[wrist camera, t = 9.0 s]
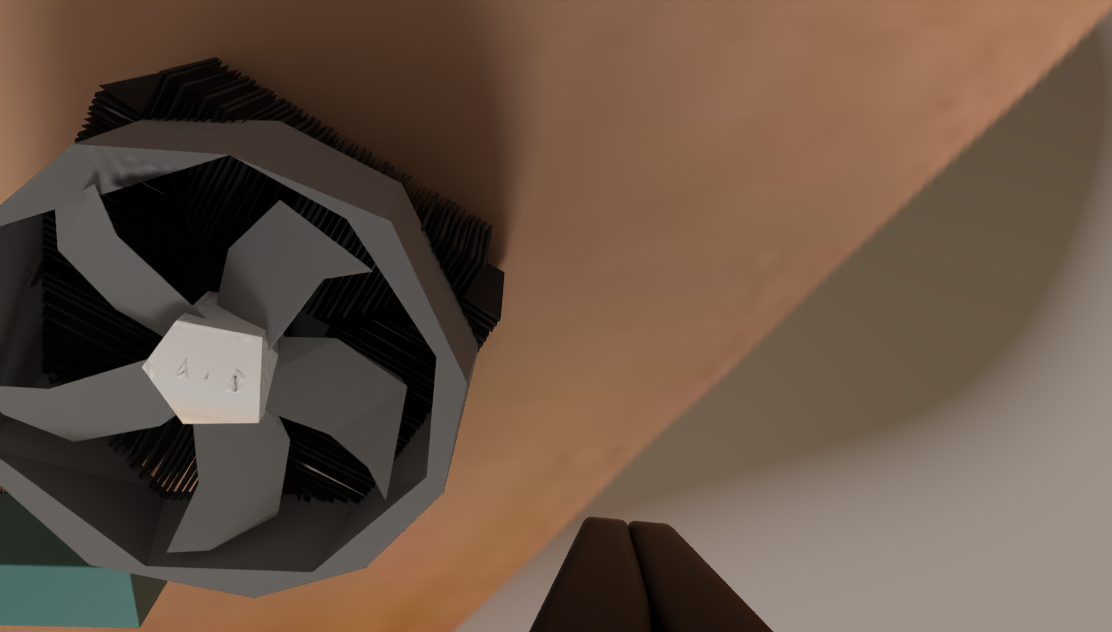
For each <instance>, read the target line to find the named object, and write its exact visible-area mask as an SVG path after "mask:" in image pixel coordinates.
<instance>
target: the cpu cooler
mask: <svg viewBox="0 0 1112 632" xmlns="http://www.w3.org/2000/svg"><path fill="white" fill-rule="evenodd" d="M218 61H219V59H218V58H217V57H215V58H211V59H207V60H203V61H199V62H195V63H191V64H187V65H183V66H179V67H175V68H171V69H167V70H163V71H160V72H159V73H156V74H151V75H147V76H142V77H137V78H132V79H128V80H123V81H118V82H114V83H109V84H104V85H99V86H100V87H101V88H103V89H104V91H100V92H96V93H95V95H94V96H95V97H97V98H95V99H92V102H91V103H93V104H95V105H92V106H89V109H88V110H90V111H92V112H89V113H87V114H89V115H90V116H92V117H90V118H87V119H84V120H86V121H88V122H89V124H85V125H82V126H83V127H84V128H86V129H87V130H84V131H81V132H78V134H77V136H78V138H76V139H75V141H74V142H76V143H74V144H72V145H71V146H70V147H69V148H68V149H66V150H65V151H64V152H63V153H62V154H60V155H59V156H58V157H57V158H56V159H54V160H53V161H52V162H51V163H50V164H49V165H47V166H46V167H45V168H44V169H43V170H41V171H40V172H39V173H38V174H37V175H35V176H34V177H33V178H32V179H31V180H29V181H28V182H27V183H26V184H25V185H24V186H22V187H21V188H20V189H19V190H18V191H16V192H15V193H14V194H13V195H12V196H10V197H9V198H8V199H7V200H6V201H4V202H3V203H2V204H1V205H0V486H1V487H2V488H4V489H5V490H6V491H7V492H8V493H9V494H10V495H11V496H13V497H14V498H15V499H16V500H17V501H18V502H19V503H21V504H22V505H23V506H24V507H25V508H26V509H27V510H28V511H30V512H31V513H32V514H33V515H34V516H35V517H36V518H37V519H39V520H40V521H41V522H42V523H43V524H44V525H45V526H46V527H48V528H49V529H50V530H51V531H52V532H53V533H54V534H55V535H57V536H58V537H59V538H60V539H61V540H62V541H63V542H65V543H66V544H67V545H68V546H69V547H70V548H71V549H72V550H74V551H75V552H76V553H77V554H78V555H79V556H80V557H81V558H83V559H84V560H85V561H86V562H87V563H88V564H89V565H92V566H97V567H102V568H107V569H112V570H117V571H122V572H127V573H132V574H137V575H142V576H147V577H152V578H157V579H162V580H167V581H172V582H177V583H182V584H187V585H192V586H197V587H202V588H207V589H212V590H217V591H222V592H227V593H232V594H237V595H242V596H247V597H252V598H256V597H260V596H263V595H267V594H271V593H274V592H278V591H282V590H285V589H289V588H293V587H297V586H300V585H304V584H308V583H311V582H315V581H319V580H322V579H326V578H330V577H334V576H337V575H341V574H345V573H348V572H352V571H356V570H359V569H363V568H366V567H367V566H368V565H369V564H370V563H371V562H372V561H373V560H374V559H375V558H376V557H377V556H378V555H379V554H380V553H381V552H382V551H384V550H385V549H386V548H387V547H388V546H389V545H390V544H391V543H392V542H393V541H394V540H395V539H396V538H397V537H398V536H399V535H400V534H401V533H402V532H403V531H404V530H405V529H406V528H407V527H408V526H409V525H410V524H411V523H412V522H414V521H415V520H416V519H417V518H418V517H419V516H420V515H421V514H422V513H423V512H424V511H425V510H426V509H427V508H428V507H429V506H430V505H431V504H432V503H433V502H434V501H435V500H436V499H437V498H438V497H439V496H440V495H441V494H442V493H444V489H445V485H446V481H447V476H448V472H449V468H450V464H451V460H452V456H453V451H454V447H455V443H456V439H457V435H458V431H459V426H460V422H461V418H462V414H463V410H464V406H465V401H466V397H467V393H468V389H469V385H470V381H471V377H472V372H473V368H474V364H475V360H476V356H477V353H478V352H479V349H480V347H482V346H483V342H484V343H485V341H486V338H487V337H488V336H489V331H491V332H492V331H493V329H494V326H495V327H496V325H497V321H498V322H499V321H500V319H501V308H502V297H503V285H504V272H503V271H501V270H499V269H497V268H496V267H494V266H492V265H490V264H489V263H487V259H488V252H489V245H490V239H491V232H492V225H489V226H488V228H487V230H486V226H487V222H485V221H484V222H483V224H482V226H481V222H482V219H481V218H479V219H478V221H477V222H476V224H475V226H474V223H475V219H476V215H473V217H472V218H471V220H470V216H471V214H470V215H469V217H468V218H467V220H466V221H465V223H464V224H463V225H462V227H461V224H462V220H463V215H464V211H465V210H464V211H463V213H462V214H461V216H460V217H459V219H458V220H457V222H456V219H457V216H458V213H459V211H460V208H461V206H459V205H458V206H457V208H456V209H455V211H454V213H453V214H452V212H453V209H454V206H455V203H454V202H452V204H451V205H450V207H449V209H448V210H447V208H448V205H449V203H450V199H447V201H446V202H445V204H444V205H443V207H442V209H441V210H440V212H439V214H438V215H437V217H436V219H435V216H436V214H437V211H438V208H439V206H440V203H441V201H442V199H441V200H440V202H439V203H438V205H437V207H436V208H435V210H434V211H433V213H432V210H433V208H434V206H435V203H436V201H437V198H438V196H439V194H440V193H438V192H437V193H436V194H435V196H434V197H433V199H432V201H431V202H430V204H429V206H428V207H427V209H426V211H425V212H424V214H423V216H422V217H421V219H420V216H421V214H422V211H423V209H424V206H425V204H426V201H427V198H428V196H429V193H430V192H429V193H428V195H427V197H426V198H425V200H424V202H423V203H422V205H421V206H420V208H419V210H418V211H417V208H418V206H419V203H420V201H421V198H422V195H423V193H424V190H425V189H424V190H423V192H422V194H421V195H420V197H419V199H418V200H417V202H416V204H415V205H414V207H413V206H412V202H413V201H414V199H415V197H416V196H415V197H414V199H413V201H412V202H410V200H409V198H408V196H407V195H408V194H409V192H410V191H409V192H408V194H406V192H405V188H406V187H407V185H408V183H409V182H410V180H411V178H412V176H410V175H409V177H408V178H407V180H406V182H405V183H404V185H403V186H402V184H401V182H402V180H403V179H404V177H405V175H406V174H407V173H405V172H403V174H402V175H401V177H400V178H399V180H398V181H395V180H393V178H390V175H391V173H392V172H393V170H394V168H395V166H394V165H392V167H391V168H390V169H389V171H388V172H387V173H386V175H384V172H385V170H386V169H387V167H388V165H389V162H386V163H385V165H384V166H383V167H382V169H381V170H380V172H378V171H376V168H377V167H378V165H379V163H380V161H381V160H380V161H379V162H378V164H377V165H376V166H375V167H374V168H373V169H372V168H371V166H372V164H373V163H374V161H375V159H376V158H375V159H374V160H373V161H372V162H371V163H370V164H369V165H368V166H366V164H367V163H368V161H369V159H370V158H371V156H372V154H373V152H371V151H370V152H369V153H368V154H367V155H366V157H365V158H364V159H363V160H362V158H363V156H364V155H365V153H366V151H367V149H366V148H364V149H363V150H362V151H361V152H360V153H359V154H358V155H357V156H356V157H355V158H354V159H353V156H354V154H355V152H356V150H357V148H358V147H359V146H357V147H356V148H355V149H354V150H353V151H352V152H351V153H350V154H349V155H348V153H349V151H350V150H351V148H352V146H353V144H354V143H355V142H354V143H353V144H352V145H350V146H349V147H348V148H347V149H346V150H345V151H343V152H342V153H341V150H342V148H343V146H344V144H345V142H346V140H347V139H345V140H344V141H343V142H342V143H341V144H340V145H339V146H337V147H336V148H335V146H336V144H337V142H338V140H339V138H340V136H341V135H342V134H341V135H340V136H339V137H338V138H337V139H336V140H335V141H334V139H335V137H336V136H337V134H338V132H337V133H336V134H335V135H333V136H332V137H330V138H329V136H330V134H331V132H332V130H333V128H332V127H330V128H328V129H327V130H326V131H325V129H326V127H327V126H326V127H324V128H323V129H321V130H320V131H318V132H317V133H316V131H317V129H318V127H319V125H320V124H321V122H322V121H320V120H318V121H316V122H315V123H313V121H314V119H315V117H314V116H311V117H310V118H308V116H309V114H308V115H306V116H304V117H302V118H301V119H299V118H300V116H301V115H302V113H303V111H304V110H302V109H299V110H297V111H296V112H295V110H296V109H297V106H296V105H294V106H292V107H290V106H291V104H292V103H291V102H287V103H285V104H284V102H285V100H286V99H284V98H282V99H280V100H278V101H276V102H275V103H273V102H274V100H275V98H276V96H277V95H275V96H273V97H272V95H273V93H274V92H273V91H268V92H267V90H268V88H266V87H264V88H261V89H259V90H258V88H259V86H260V84H259V85H257V86H254V84H255V82H256V81H255V80H250V81H248V80H249V78H250V77H248V76H244V77H242V78H239V77H240V75H241V73H239V74H236V75H235V73H236V71H237V70H234V71H231V72H227V73H226V71H227V68H228V66H229V65H227V66H224V67H221V68H219V67H220V65H221V63H222V61H220V62H218ZM253 86H254V87H253ZM283 104H284V105H283ZM307 118H308V119H307ZM306 119H307V120H306ZM312 123H313V124H312ZM328 138H329V139H328ZM327 139H328V140H327ZM333 141H334V142H333ZM334 148H335V149H334ZM347 155H348V156H347ZM361 160H362V161H361ZM395 174H396V173H395ZM413 185H414V184H413ZM412 187H413V186H412ZM421 187H422V186H421ZM425 188H426V187H425ZM410 190H411V189H410ZM430 191H431V190H430ZM418 192H419V191H418ZM417 194H418V193H417ZM417 194H416V195H417ZM442 198H443V197H442ZM416 211H417V213H416ZM446 211H447V212H446ZM431 213H432V214H431ZM430 215H431V216H430ZM451 215H452V216H451ZM429 217H430V218H429ZM419 219H420V220H419ZM434 219H435V220H434ZM469 220H470V221H469ZM433 221H434V222H433ZM455 222H456V223H455ZM473 226H474V227H473ZM356 234H357V237H356V239H355V240H354V242H353V244H352V245H351V247H350V249H349V250H348V251H347V249H348V247H349V245H350V244H351V242H352V240H353V239H354V237H355V235H356ZM358 239H360V240H361V244H360V246H359V248H358V249H357V251H356V253H355V255H354V256H353V255H352V254H351V252H352V250H353V248H354V247H355V245H356V243H357V241H358ZM364 246H365V248H366V249H365V250H364V252H363V254H362V255H361V257H360V259H359V260H358V259H357V257H358V255H359V253H360V252H361V250H362V248H363V247H364ZM368 252H369V254H370V256H369V258H368V259H367V261H366V263H365V264H363V263H362V261H363V259H364V258H365V256H366V254H367V253H368ZM371 258H372V259H373V260H374V262H373V263H372V265H371V266H370V268H369V267H367V265H368V263H369V262H370V260H371ZM376 265H377V266H378V267H377V268H376V270H375V272H374V273H373V275H372V276H370V275H371V273H372V272H373V270H374V268H375V266H376ZM363 273H366V274H365V276H364V277H363V278H360V277H361V276H362V274H363ZM380 273H381V274H380ZM354 274H358V276H357V278H355V277H353V276H354ZM130 452H131V453H130ZM195 456H196V457H195ZM148 457H149V458H148ZM194 458H195V459H194ZM147 459H148V460H147ZM193 459H194V461H193ZM146 460H147V461H146ZM162 460H163V461H162ZM145 461H146V463H145V465H144V467H143V466H142V464H143V463H144V462H145ZM161 461H162V463H161ZM192 461H193V463H192V464H191V462H192ZM160 463H161V464H160ZM159 464H160V466H159V468H158V470H157V472H156V474H155V475H154V477H153V476H152V475H151V473H152V472H153V471H154V470H155V469H156V467H157V466H158V465H159ZM190 464H191V466H190ZM189 466H190V468H189V470H188V471H187V473H186V475H185V477H184V478H183V480H182V482H181V484H180V486H179V487H178V489H177V491H176V492H173V490H174V489H175V487H176V486H177V484H178V483H179V481H180V479H181V478H182V476H183V475H184V473H185V472H186V470H187V469H188V467H189ZM196 469H197V470H196ZM195 470H196V472H195ZM148 471H149V472H148ZM171 471H172V472H171ZM194 472H195V474H194V475H193V473H194ZM170 473H171V474H170ZM169 474H170V476H169ZM177 474H178V475H177ZM161 475H162V476H161ZM192 475H193V477H192V479H191V480H190V482H189V483H188V485H187V487H186V488H185V490H184V492H181V491H182V490H183V488H184V487H185V485H186V484H187V482H188V481H189V479H190V478H191V476H192ZM168 476H169V478H168V479H167V481H166V483H165V485H164V487H162V486H161V485H162V484H163V482H164V481H165V480H166V478H167V477H168ZM176 476H177V477H176ZM175 477H176V479H175ZM197 477H198V480H197V482H196V484H195V485H194V487H193V489H192V491H191V492H188V491H189V489H190V488H191V486H192V485H193V483H194V482H195V480H196V479H197ZM159 478H160V479H159ZM158 479H159V481H158ZM174 479H175V480H174ZM173 480H174V482H173V484H172V486H171V488H170V489H169V491H166V490H167V488H168V487H169V486H170V484H171V483H172V481H173ZM157 481H158V482H157Z"/></svg>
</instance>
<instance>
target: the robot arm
mask: <svg viewBox="0 0 1112 632" xmlns="http://www.w3.org/2000/svg"><path fill="white" fill-rule="evenodd" d="M529 632H773V631H772V630H771V629H770V628H769V627H768V626H767V625H766V624H765V623H764V622H763V621H762V620H761V619H760V618H759V617H758V615H757V614H756V613H755V612H754V611H753V610H752V609H751V608H750V607H749V606H748V605H747V604H746V603H745V602H744V601H743V600H742V599H741V598H740V597H739V596H738V595H737V594H736V593H735V592H734V591H733V590H732V589H731V588H730V586H728V584H726V582H725V581H724V580H723V579H722V578H721V577H720V576H719V575H718V574H717V573H716V572H715V571H714V570H713V569H712V568H711V567H710V566H709V565H708V564H707V563H706V562H705V561H704V560H703V559H702V558H701V556H699V554H698V553H697V552H696V551H695V550H694V549H693V548H692V547H691V546H690V545H689V544H688V543H687V542H686V541H685V540H684V539H683V538H682V537H681V536H680V535H679V534H678V533H677V532H676V531H675V530H674V529H673V528H672V527H671V526H670V525H667V524H664V523H653V522H642V521H632V522H630V523H629V524H628V525H627V523H626V522H624V521H623V520H620V519H610V518H599V517H588V518H586V519H585V520H584V522H583V524H582V526H581V528H580V530H579V532H578V534H577V536H576V538H575V540H574V542H573V544H572V546H571V548H570V550H569V552H568V554H567V556H566V558H565V560H564V562H563V564H562V566H561V568H560V570H559V572H558V574H557V576H556V579H555V580H554V582H553V584H552V586H551V589H550V591H549V593H548V595H547V597H546V599H545V601H544V603H543V605H542V607H541V609H540V611H539V613H538V615H537V617H536V619H535V621H534V623H533V625H532V627H531V629H530V631H529Z"/></svg>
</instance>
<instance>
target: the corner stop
mask: <svg viewBox="0 0 1112 632" xmlns="http://www.w3.org/2000/svg"><path fill="white" fill-rule="evenodd" d="M167 582H168V581H167V580H162V579H157V578H152V577H147V576H142V575H137V574H132V573H127V572H122V571H117V570H112V569H107V568H102V567H97V566H92V565H89V564H88V563H87V562H86V561H85V560H84V559H83V558H81V557H80V556H79V555H78V554H77V553H76V552H75V551H74V550H72V549H71V548H70V547H69V546H68V545H67V544H66V543H65V542H63V541H62V540H61V539H60V538H59V537H58V536H57V535H55V534H54V533H53V532H52V531H51V530H50V529H49V528H48V527H46V526H45V525H44V524H43V523H42V522H41V521H40V520H39V519H37V518H36V517H35V516H34V515H33V514H32V513H31V512H30V511H28V510H27V509H26V508H25V507H24V506H23V505H22V504H21V503H19V502H18V501H17V500H16V499H15V498H14V497H13V496H11V495H10V494H9V493H0V625H16V626H64V627H112V628H140V627H141V625H142V623H143V622H144V620H145V618H146V617H147V615H148V613H149V612H150V610H151V608H152V607H153V605H154V603H155V602H156V600H157V598H158V597H159V595H160V593H161V592H162V590H163V588H164V587H165V585H166V583H167Z"/></svg>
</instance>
